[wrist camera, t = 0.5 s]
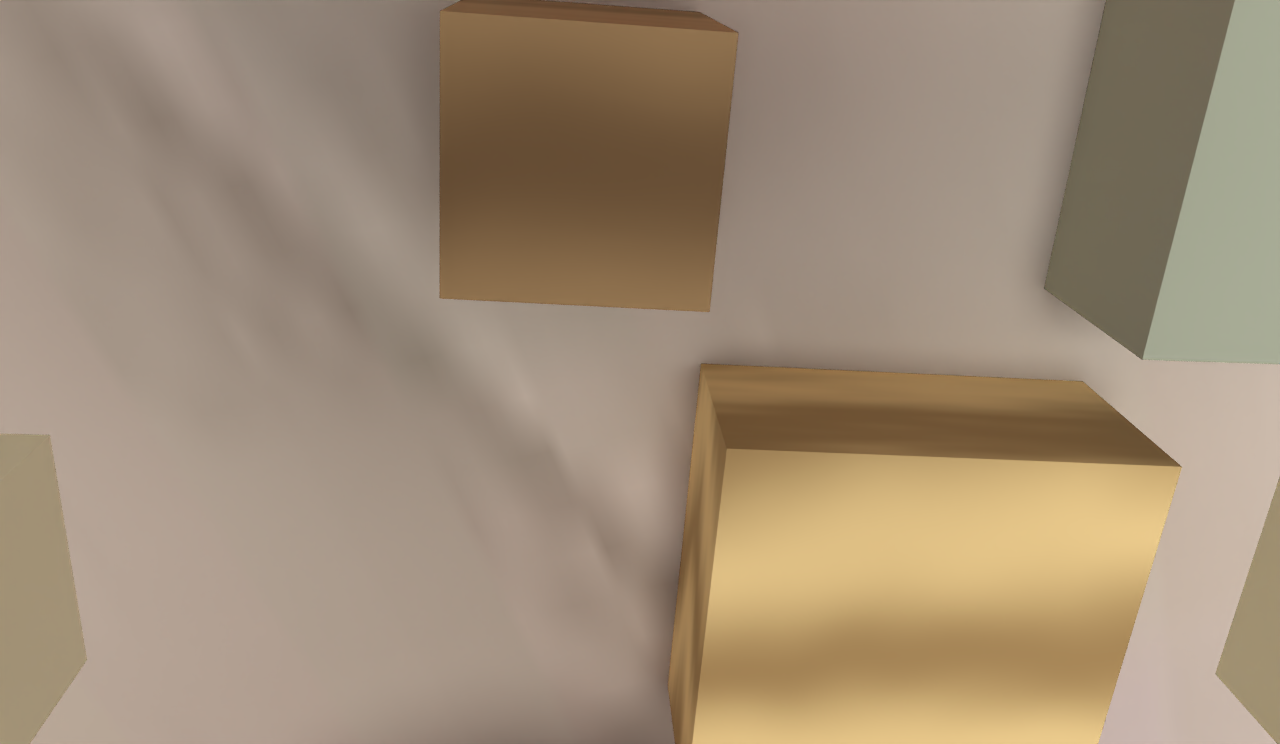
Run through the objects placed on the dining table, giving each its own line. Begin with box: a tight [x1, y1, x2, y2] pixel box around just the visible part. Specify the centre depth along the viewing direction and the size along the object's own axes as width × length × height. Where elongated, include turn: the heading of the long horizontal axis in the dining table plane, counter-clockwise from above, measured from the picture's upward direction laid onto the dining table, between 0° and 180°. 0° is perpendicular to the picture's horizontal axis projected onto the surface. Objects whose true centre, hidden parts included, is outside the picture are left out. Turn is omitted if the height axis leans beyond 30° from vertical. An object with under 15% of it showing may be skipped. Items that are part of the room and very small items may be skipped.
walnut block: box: [440, 0, 738, 312], centre depth 25 cm, size 6×6×7 cm
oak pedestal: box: [668, 364, 1182, 744], centre depth 32 cm, size 12×12×6 cm
